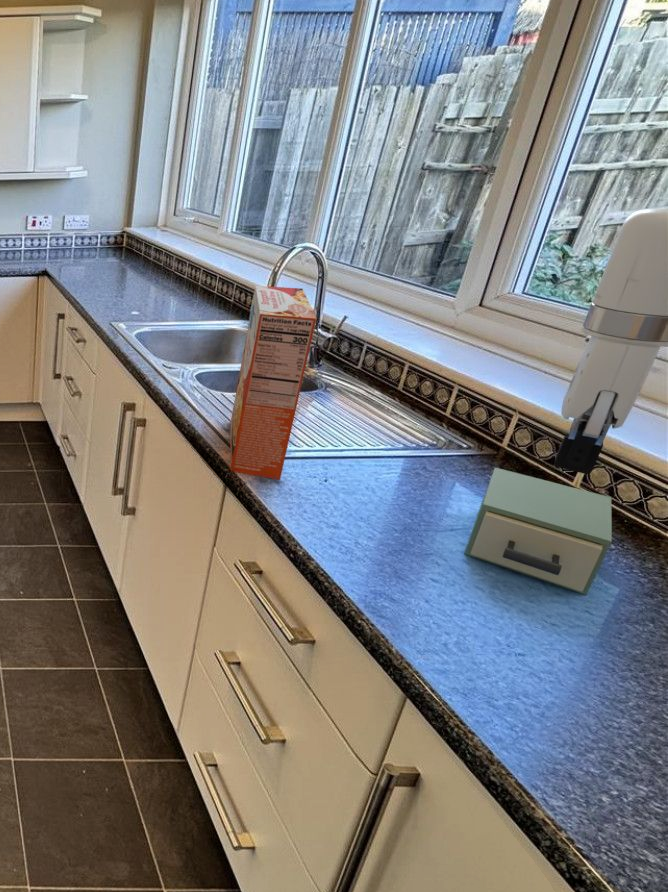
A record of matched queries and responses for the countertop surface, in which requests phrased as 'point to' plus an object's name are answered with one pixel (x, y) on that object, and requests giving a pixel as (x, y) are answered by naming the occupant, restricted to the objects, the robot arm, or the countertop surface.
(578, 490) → the cabinet
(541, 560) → the drawer
